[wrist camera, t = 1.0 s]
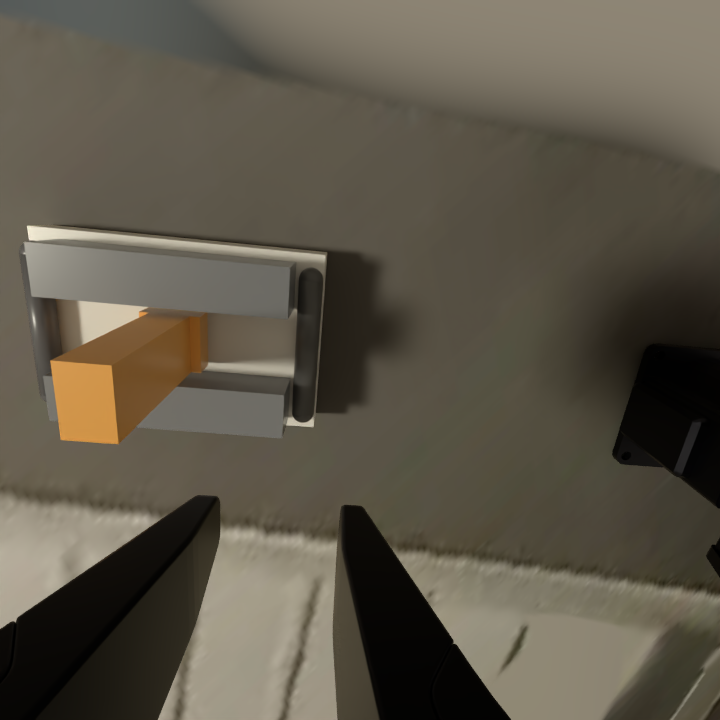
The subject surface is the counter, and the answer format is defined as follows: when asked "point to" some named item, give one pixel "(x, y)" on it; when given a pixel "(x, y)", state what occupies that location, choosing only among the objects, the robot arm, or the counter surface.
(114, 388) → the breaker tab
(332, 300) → the counter surface
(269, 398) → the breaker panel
